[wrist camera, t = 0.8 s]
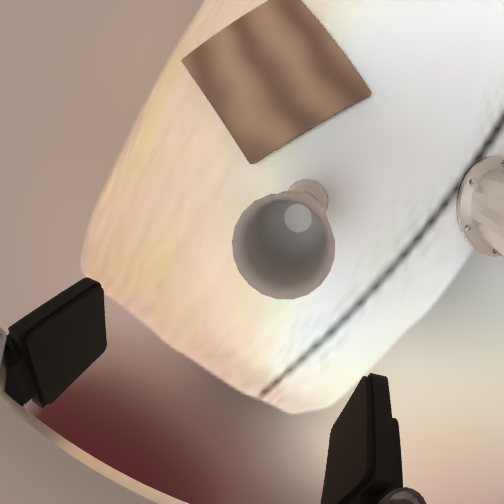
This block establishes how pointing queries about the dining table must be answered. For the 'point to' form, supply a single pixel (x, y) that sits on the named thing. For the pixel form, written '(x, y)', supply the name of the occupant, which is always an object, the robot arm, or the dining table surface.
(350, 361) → the dining table surface
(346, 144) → the dining table surface
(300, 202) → the chalice
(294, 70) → the serving board
